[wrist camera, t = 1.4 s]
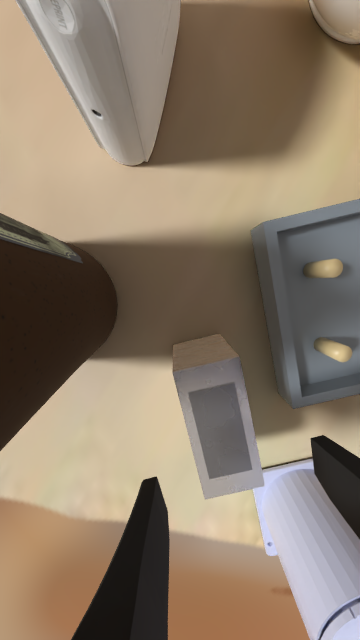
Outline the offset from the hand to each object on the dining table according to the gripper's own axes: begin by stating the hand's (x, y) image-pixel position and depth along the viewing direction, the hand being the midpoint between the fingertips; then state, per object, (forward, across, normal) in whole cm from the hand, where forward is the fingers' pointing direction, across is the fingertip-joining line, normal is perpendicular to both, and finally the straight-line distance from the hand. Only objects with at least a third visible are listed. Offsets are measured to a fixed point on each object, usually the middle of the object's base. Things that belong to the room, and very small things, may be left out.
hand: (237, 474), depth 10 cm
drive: (+10, 0, +1) cm, 10 cm away
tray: (+9, -13, -4) cm, 17 cm away
